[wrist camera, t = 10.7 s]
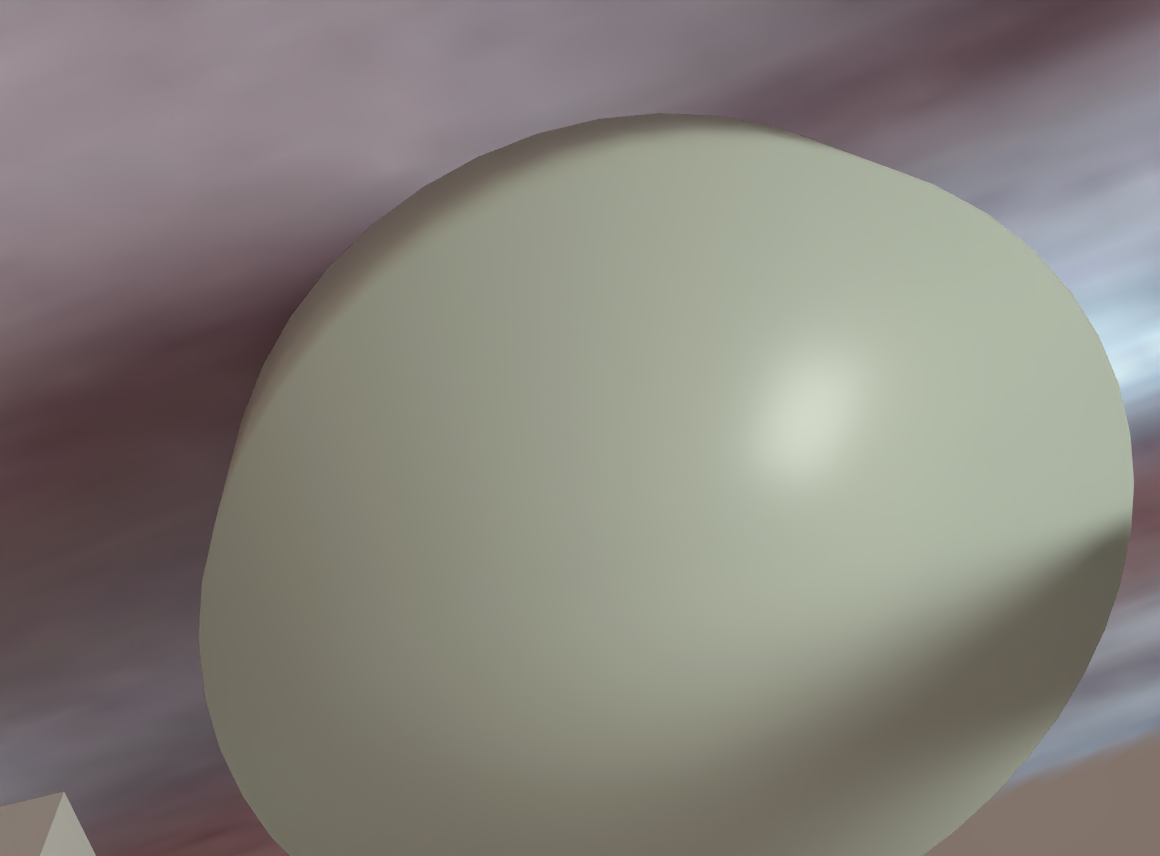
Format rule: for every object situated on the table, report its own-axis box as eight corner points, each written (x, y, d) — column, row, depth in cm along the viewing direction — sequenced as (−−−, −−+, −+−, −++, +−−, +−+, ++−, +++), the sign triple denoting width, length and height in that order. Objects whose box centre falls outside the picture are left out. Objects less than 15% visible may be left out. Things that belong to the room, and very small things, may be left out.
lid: (1157, 352, 14) (1305, 423, 12) (746, 890, 17) (804, 1026, 15) (477, -86, 10) (510, -101, 8) (96, 714, 13) (42, 865, 11)
